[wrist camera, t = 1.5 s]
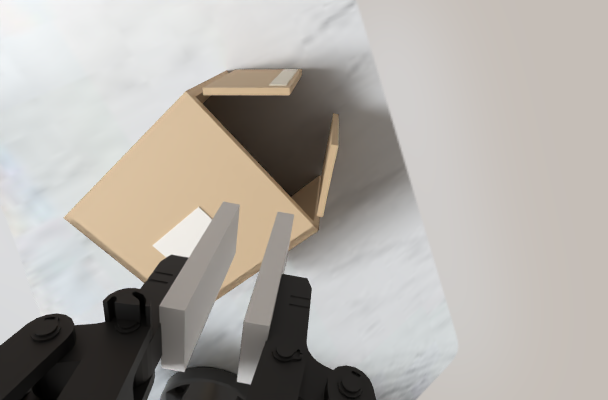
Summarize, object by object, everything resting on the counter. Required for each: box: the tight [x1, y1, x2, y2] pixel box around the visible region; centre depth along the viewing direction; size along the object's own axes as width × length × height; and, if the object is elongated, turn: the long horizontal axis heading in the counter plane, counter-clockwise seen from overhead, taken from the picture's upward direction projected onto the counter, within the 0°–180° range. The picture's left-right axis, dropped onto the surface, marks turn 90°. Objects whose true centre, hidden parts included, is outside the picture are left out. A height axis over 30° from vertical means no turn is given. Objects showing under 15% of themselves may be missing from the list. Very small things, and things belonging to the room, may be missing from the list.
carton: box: [64, 71, 321, 301], centre depth 34 cm, size 16×14×10 cm
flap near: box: [202, 69, 302, 95], centre depth 29 cm, size 1×6×9 cm, turn 92°
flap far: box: [317, 113, 339, 217], centre depth 31 cm, size 1×6×9 cm, turn 172°
